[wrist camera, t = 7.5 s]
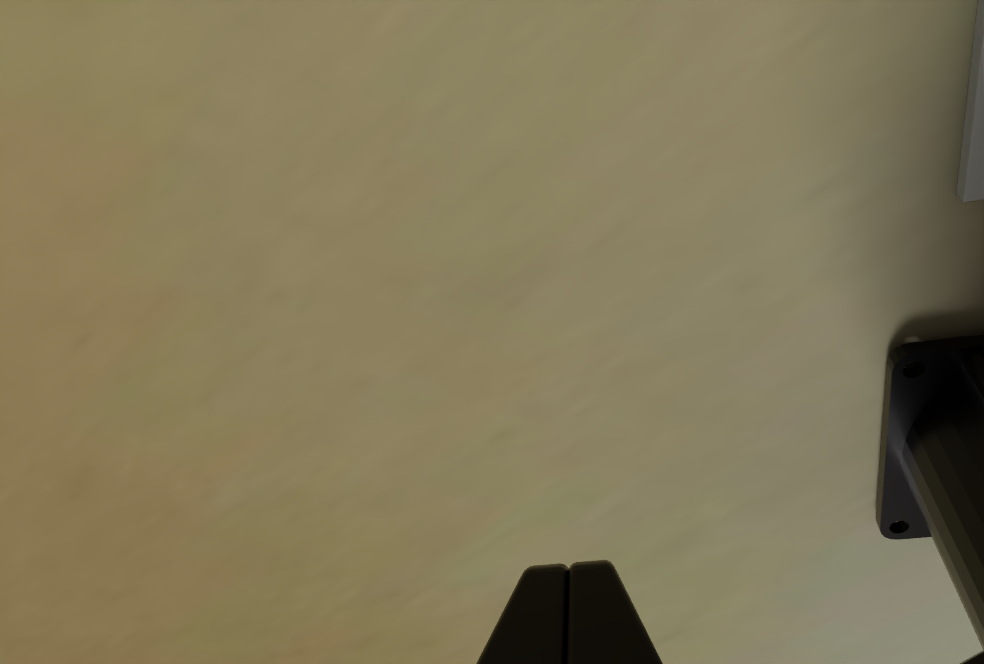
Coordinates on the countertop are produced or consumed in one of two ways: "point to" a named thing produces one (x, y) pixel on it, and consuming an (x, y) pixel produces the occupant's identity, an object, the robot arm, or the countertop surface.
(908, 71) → the countertop surface
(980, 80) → the mat
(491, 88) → the countertop surface
